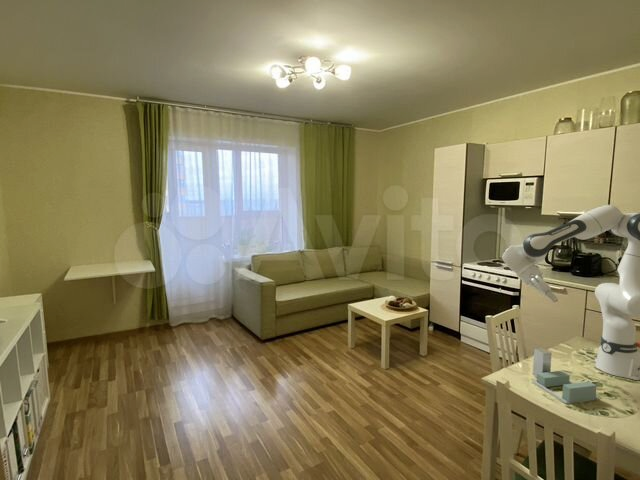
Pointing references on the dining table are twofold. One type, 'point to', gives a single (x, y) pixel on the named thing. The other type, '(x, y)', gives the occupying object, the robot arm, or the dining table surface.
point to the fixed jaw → (574, 392)
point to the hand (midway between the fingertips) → (556, 300)
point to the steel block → (541, 361)
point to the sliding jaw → (553, 378)
